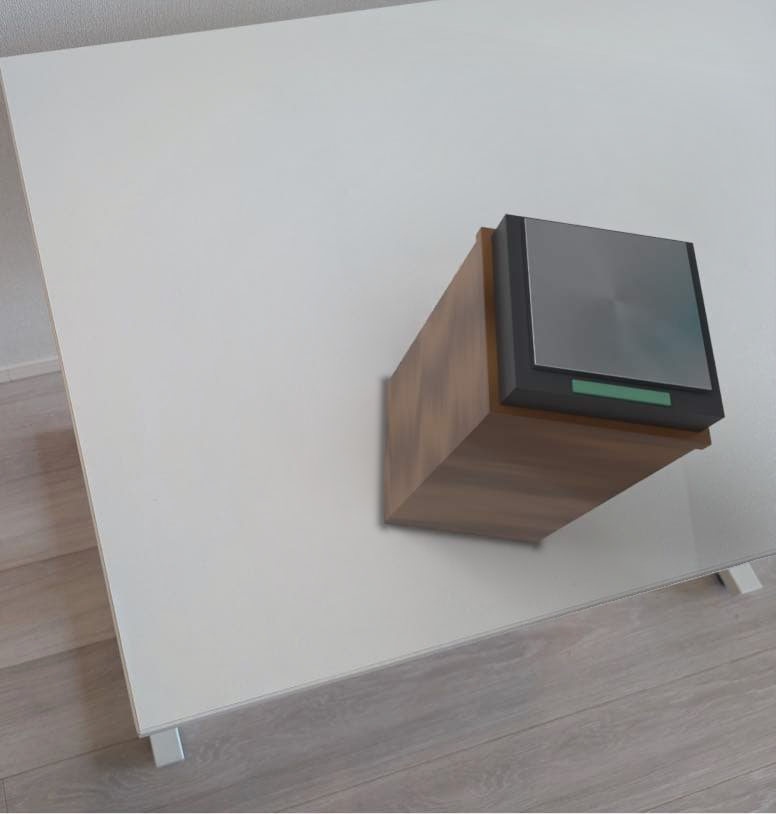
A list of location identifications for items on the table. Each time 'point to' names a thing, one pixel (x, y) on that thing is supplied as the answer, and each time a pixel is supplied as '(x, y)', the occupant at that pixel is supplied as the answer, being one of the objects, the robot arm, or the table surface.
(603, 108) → the table surface
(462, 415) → the box
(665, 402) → the scale
